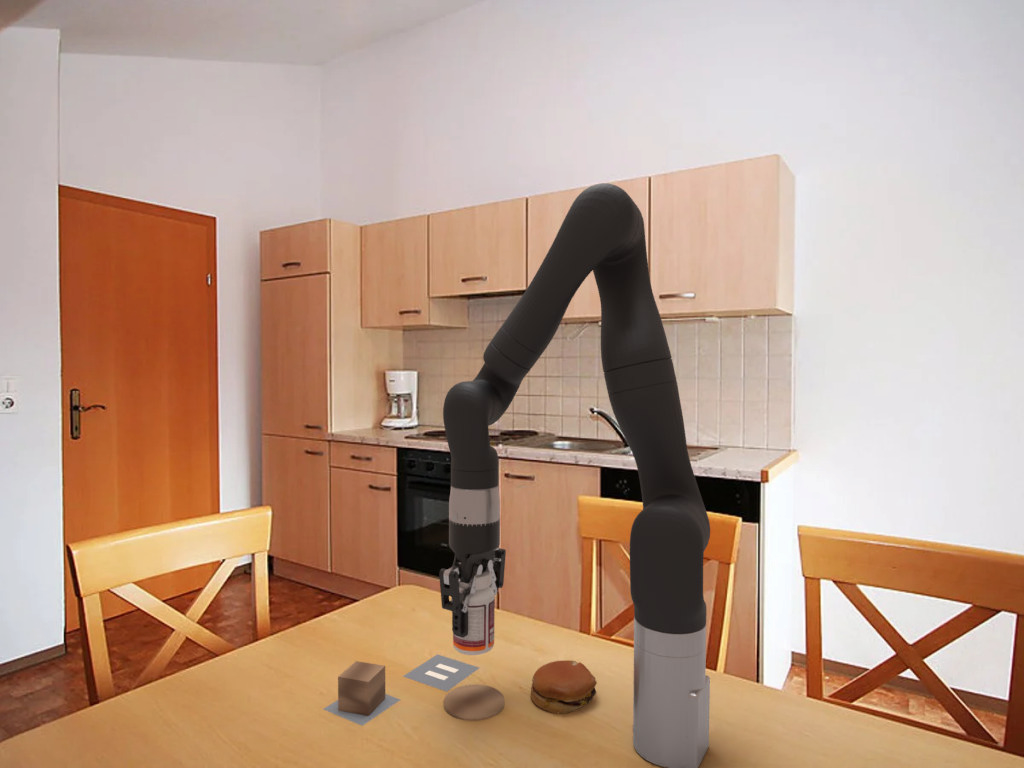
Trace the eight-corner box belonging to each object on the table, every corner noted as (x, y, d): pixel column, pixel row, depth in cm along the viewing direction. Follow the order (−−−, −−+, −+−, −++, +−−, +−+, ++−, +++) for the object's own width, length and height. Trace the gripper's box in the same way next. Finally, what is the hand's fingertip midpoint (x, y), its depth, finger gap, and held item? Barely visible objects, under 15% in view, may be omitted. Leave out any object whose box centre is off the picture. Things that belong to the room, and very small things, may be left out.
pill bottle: (478, 634, 98) (478, 562, 98) (502, 648, 93) (503, 573, 93) (444, 645, 94) (445, 570, 94) (468, 660, 90) (469, 582, 89)
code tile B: (400, 700, 95) (400, 699, 95) (362, 726, 88) (362, 725, 88) (362, 685, 99) (362, 685, 99) (322, 709, 93) (322, 708, 93)
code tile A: (479, 668, 105) (479, 667, 105) (446, 692, 98) (446, 691, 98) (437, 654, 110) (437, 654, 110) (402, 676, 102) (402, 676, 102)
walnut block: (385, 698, 96) (385, 665, 95) (368, 715, 91) (368, 681, 91) (356, 693, 97) (355, 661, 97) (338, 710, 92) (338, 676, 92)
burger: (525, 710, 93) (525, 679, 93) (538, 680, 102) (538, 651, 102) (592, 720, 90) (592, 688, 90) (600, 688, 99) (600, 659, 99)
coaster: (515, 698, 96) (515, 694, 96) (481, 728, 88) (481, 723, 88) (467, 682, 100) (467, 678, 100) (431, 709, 93) (431, 705, 93)
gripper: (466, 530, 85) (465, 652, 86) (521, 509, 97) (520, 616, 98) (423, 522, 89) (423, 639, 90) (481, 503, 101) (480, 605, 102)
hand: (474, 626), depth 94 cm, fingers closed on pill bottle, 6 cm apart
